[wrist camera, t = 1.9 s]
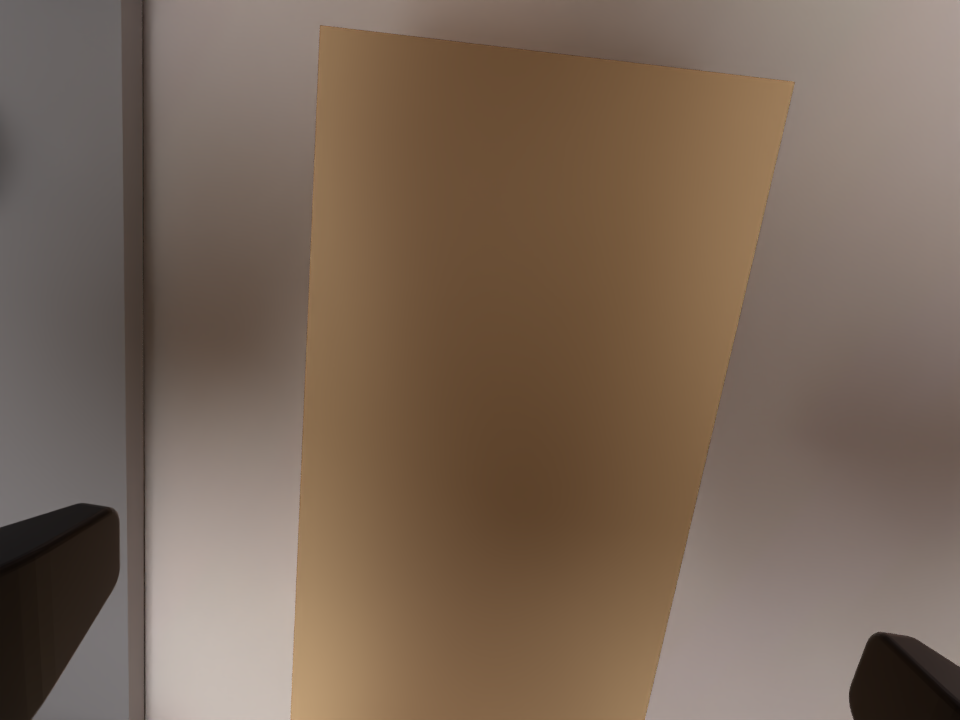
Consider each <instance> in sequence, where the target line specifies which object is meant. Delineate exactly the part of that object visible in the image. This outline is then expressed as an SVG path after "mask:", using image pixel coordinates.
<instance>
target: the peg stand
mask: <svg viewBox="0 0 960 720" xmlns="http://www.w3.org/2000/svg"><path fill="white" fill-rule="evenodd" d="M77 503H89V504H95V505H101V506H107V507H112V508H114V509H115V510H116V511H117V512H118V515H119V519H120V573H119V577H118V581H117V583H116V586H115V588H114V589H113V591H112V593H111V595H110V596H109V598H108V600H107V601H106V603H105V604H104V606H103V608H102V609H101V611H100V613H99V614H98V616H97V618H96V619H95V621H94V623H93V624H92V626H91V628H90V629H89V631H88V632H87V634H86V636H85V637H84V639H83V641H82V642H81V644H80V646H79V647H78V649H77V651H76V652H75V654H74V656H73V657H72V659H71V660H70V662H69V664H68V665H67V667H66V669H65V670H64V672H63V674H62V675H61V677H60V679H59V680H58V682H57V683H56V685H55V687H54V688H53V690H52V691H51V693H50V694H49V696H48V697H47V699H46V701H45V702H44V704H43V705H42V706H41V708H40V709H39V711H38V712H37V713H36V715H35V716H34V718H33V719H32V720H144V433H143V71H142V0H0V527H3V526H6V525H9V524H13V523H16V522H19V521H22V520H26V519H29V518H32V517H35V516H38V515H42V514H45V513H48V512H51V511H55V510H58V509H61V508H64V507H68V506H71V505H74V504H77Z"/></svg>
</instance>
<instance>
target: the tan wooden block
mask: <svg viewBox="0 0 960 720" xmlns="http://www.w3.org/2000/svg"><path fill="white" fill-rule="evenodd" d="M794 84H795V82H792V81H784V80H775V79H767V78H758V77H750V76H742V75H733V74H725V73H716V72H708V71H700V70H691V69H683V68H674V67H666V66H658V65H649V64H641V63H633V62H624V61H616V60H607V59H599V58H591V57H582V56H574V55H565V54H557V53H549V52H540V51H532V50H523V49H515V48H507V47H498V46H490V45H482V44H473V43H465V42H456V41H448V40H440V39H431V38H423V37H414V36H406V35H398V34H389V33H381V32H372V31H364V30H356V29H347V28H339V27H330V26H322V25H320V37H319V60H318V84H317V107H316V131H315V154H314V178H313V201H312V225H311V249H310V272H309V296H308V319H307V343H306V366H305V390H304V414H303V437H302V461H301V484H300V508H299V531H298V555H297V579H296V602H295V626H294V649H293V673H292V696H291V720H645V716H646V712H647V708H648V703H649V699H650V695H651V691H652V686H653V682H654V678H655V674H656V669H657V665H658V661H659V657H660V652H661V648H662V644H663V640H664V635H665V631H666V627H667V623H668V618H669V614H670V610H671V606H672V601H673V597H674V593H675V589H676V584H677V580H678V576H679V572H680V567H681V563H682V559H683V555H684V551H685V546H686V542H687V538H688V534H689V529H690V525H691V521H692V517H693V512H694V508H695V504H696V500H697V495H698V491H699V487H700V483H701V478H702V474H703V470H704V466H705V461H706V457H707V453H708V449H709V444H710V440H711V436H712V432H713V427H714V423H715V419H716V415H717V410H718V406H719V402H720V398H721V393H722V389H723V385H724V381H725V377H726V372H727V368H728V364H729V360H730V355H731V351H732V347H733V343H734V338H735V334H736V330H737V326H738V321H739V317H740V313H741V309H742V304H743V300H744V296H745V292H746V287H747V283H748V279H749V275H750V270H751V266H752V262H753V258H754V253H755V249H756V245H757V241H758V236H759V232H760V228H761V224H762V219H763V215H764V211H765V207H766V202H767V198H768V194H769V190H770V186H771V181H772V177H773V173H774V169H775V164H776V160H777V156H778V152H779V147H780V143H781V139H782V135H783V130H784V126H785V122H786V118H787V113H788V109H789V105H790V101H791V96H792V92H793V88H794Z"/></svg>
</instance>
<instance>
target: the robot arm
mask: <svg viewBox="0 0 960 720" xmlns="http://www.w3.org/2000/svg"><path fill="white" fill-rule="evenodd" d="M119 573H120V519H119V515H118V512H117V511H116V510H115V509H114V508H112V507H107V506H101V505H95V504H89V503H77V504H74V505H71V506H68V507H64V508H61V509H58V510H55V511H51V512H48V513H45V514H42V515H38V516H35V517H32V518H29V519H26V520H22V521H19V522H16V523H13V524H9V525H6V526H3V527H0V720H32V719H33V718H34V716H35V715H36V713H37V712H38V711H39V709H40V708H41V706H42V705H43V704H44V702H45V701H46V699H47V697H48V696H49V694H50V693H51V691H52V690H53V688H54V687H55V685H56V683H57V682H58V680H59V679H60V677H61V675H62V674H63V672H64V670H65V669H66V667H67V665H68V664H69V662H70V660H71V659H72V657H73V656H74V654H75V652H76V651H77V649H78V647H79V646H80V644H81V642H82V641H83V639H84V637H85V636H86V634H87V632H88V631H89V629H90V628H91V626H92V624H93V623H94V621H95V619H96V618H97V616H98V614H99V613H100V611H101V609H102V608H103V606H104V604H105V603H106V601H107V600H108V598H109V596H110V595H111V593H112V591H113V589H114V588H115V586H116V583H117V581H118V577H119ZM849 703H850V709H851V713H852V716H853V719H854V720H960V667H959V666H957V665H956V664H954V663H953V662H951V661H950V660H948V659H946V658H945V657H943V656H942V655H940V654H939V653H937V652H936V651H934V650H932V649H931V648H929V647H928V646H926V645H925V644H923V643H921V642H920V641H918V640H917V639H915V638H912V637H909V636H905V635H898V634H892V633H885V632H877V633H875V634H873V635H872V636H871V637H870V638H869V639H868V641H867V643H866V646H865V649H864V651H863V654H862V657H861V659H860V662H859V665H858V667H857V670H856V672H855V675H854V678H853V680H852V683H851V686H850V692H849Z"/></svg>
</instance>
